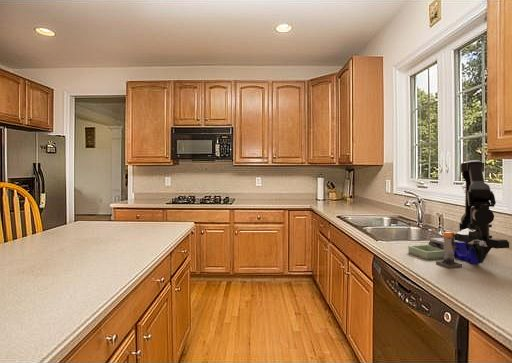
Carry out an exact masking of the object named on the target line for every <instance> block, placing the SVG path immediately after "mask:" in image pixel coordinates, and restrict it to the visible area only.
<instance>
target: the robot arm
mask: <svg viewBox="0 0 512 363" xmlns="http://www.w3.org/2000/svg"><path fill="white" fill-rule="evenodd" d="M459 172H460V173H461V176H462V178H463V180H464V181H465V198H464V206H465V207H464V214H463V215H462V216H461V218H460V222H458V230H457V232H456V233H455V240H457V241H463V242H465V243H466V248H467V251H468V252H469V247H472V249H473V250H474V253H475V255H476V258H477V260H478V263H479V264H483V262H484V261H485V259H486V257H487V256H488V254H489V252H490V251H491V250H492V249H510V242H509V240H508V239H505V238H499V237H498V238H496V237H495V238H494V237H493V235H490V228H493V224H491V223H492V222H493V221H494V219H495V214H494V211H493V210H491V209H490V207H491V208H495V205H496V203H497V202H496V197H495V194H494V192H493V190H491V187H490V185H489V184H487V183H485V178H484V174H483V173H485V162H483V161H480V160H469V161H463V162H462V163H460V165H459Z"/></svg>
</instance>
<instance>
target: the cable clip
mask: <svg viewBox="0 0 512 363" xmlns="http://www.w3.org/2000/svg"><path fill="white" fill-rule="evenodd" d="M454 259H456V260H457V259H458V260H462V261H463V260H464V261H465V262H467V263H469V264H473V265H474V264H476V265H477V264H478V265H479V264H480V263H478V260H477V258H476V255H475V253H474V250H473V249H472V247H469V251H467V248H466V243H465V242H456V249H455V253H454Z"/></svg>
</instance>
